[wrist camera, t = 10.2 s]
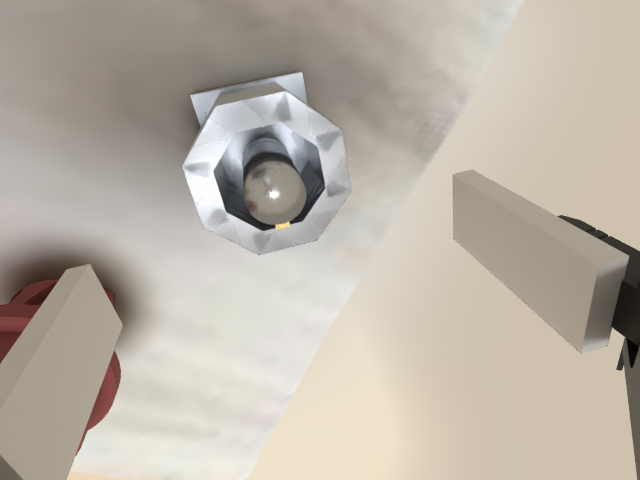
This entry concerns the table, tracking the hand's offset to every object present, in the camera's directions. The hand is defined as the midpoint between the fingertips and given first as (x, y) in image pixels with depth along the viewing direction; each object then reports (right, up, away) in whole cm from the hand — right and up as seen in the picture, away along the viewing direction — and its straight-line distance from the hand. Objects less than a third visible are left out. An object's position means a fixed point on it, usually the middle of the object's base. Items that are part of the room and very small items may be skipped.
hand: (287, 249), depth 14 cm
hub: (-3, +6, +12) cm, 14 cm away
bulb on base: (-3, +6, +14) cm, 15 cm away
